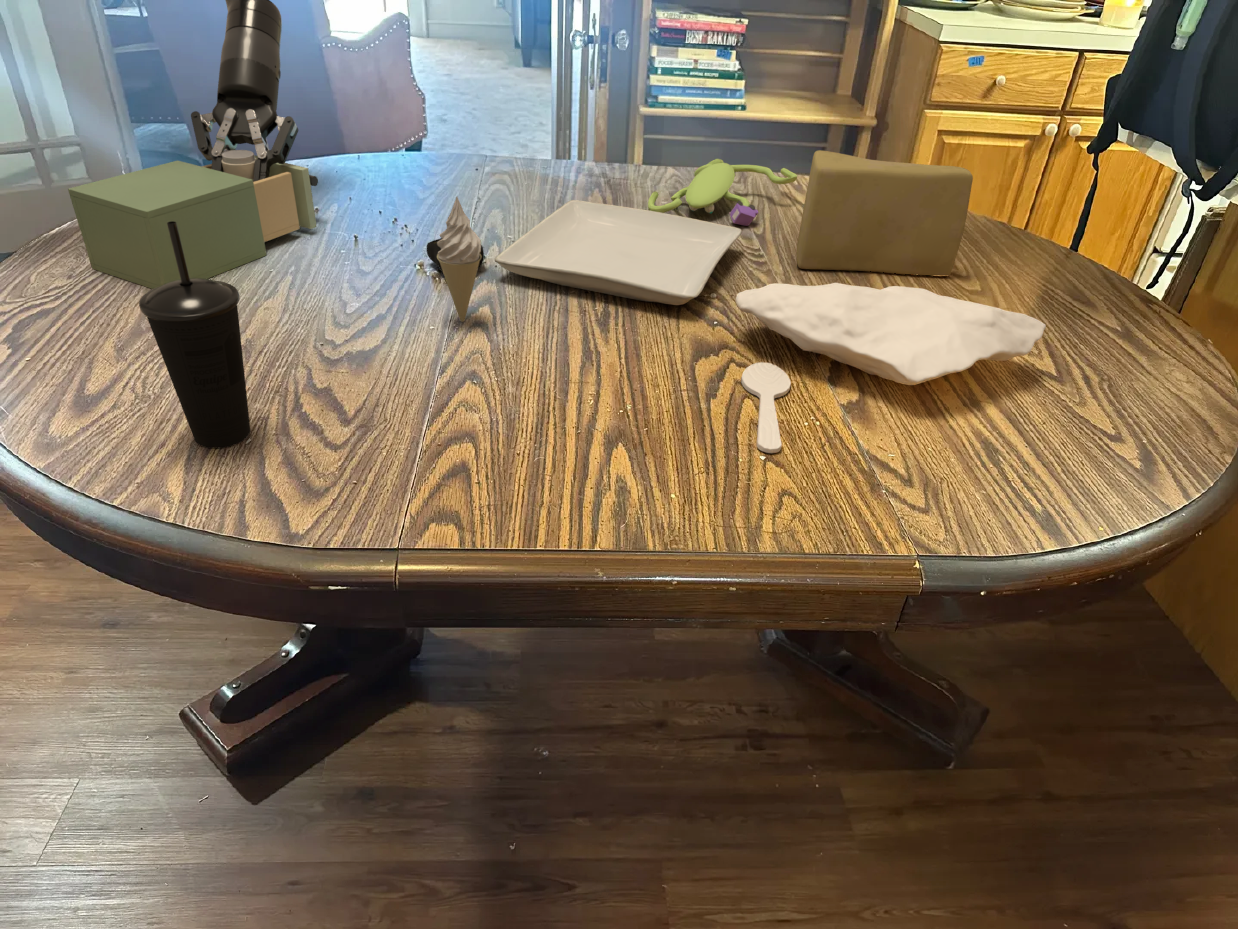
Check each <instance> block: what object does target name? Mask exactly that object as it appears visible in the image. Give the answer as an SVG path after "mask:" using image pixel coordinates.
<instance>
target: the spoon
mask: <svg viewBox="0 0 1238 929" xmlns="http://www.w3.org/2000/svg"><path fill="white" fill-rule="evenodd" d="M740 383H741V385H742V387H743V388H744V390H746V391H747V392H748V393H750V394H752V395H754V396H756V397H757V398H759V405H758V419H757V433H756V447H757V449H758V450H760V451H761V452H763V453H766V454H776V453H779V452H780V451H781V450H782V447H783V446H782V439H781V434H780V425H779V421H778V415H777V410H776V404H775V399H776V398H781V397H784V396H785V395H786V394H788V393H789V391H790V390H791V384H792V383H791V379H790V376H789V375H788V373H786V372H785V370H783V369H782V368H781V367H779V366H778V365H776V364H773V363H771V362H764V361H760V362H759V361H758V362H754V363H752V364H750V365H748V366H747V367H745V369H744V370H743V372H742V374H741V376H740Z"/></svg>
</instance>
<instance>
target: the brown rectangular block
mask: <svg viewBox="0 0 1238 929" xmlns="http://www.w3.org/2000/svg"><path fill="white" fill-rule="evenodd" d="M973 179H974V177H973V174H972V172H971V171H970V170H969V169H967V168H964V167H961V166H956V165H955V166H954V165H936V164H921V163H910V162H899V161H896V162H895V161H885V160H877V159H869V158H863V157H859V156H854V155H850V154H845V153H839V152H834V151H827V150H820V149H819V150H816V151H815V152H814V153H813V156H812V161H811V166H810V171H809V176H808V181H807V182H808V183H807V187H806V192H805V199H804V204H803V208H802V209H803V210H802V214H801V220H800V224H799V225H800V226H799V231H798V237H797V241H796V249H795V250H796V254H795V255H796V265H797V267H798V268H799V269H801V270H823V271H827V270H828V271H850V272H851V271H852V272H853V271H855V272H870V271H871V272H872V273H883V272H884V273H885V274H894V273H896V275H905V274H918V275H949V276H951V274H952V271H953V268H954V265H955V262H956V258H957V255H958V252H959V248H960V246H961V241H962V238H963V235H964V231H965V227H966V222H967V217H968V211H969V205H970V198H971V192H972V187H973V181H974V180H973Z"/></svg>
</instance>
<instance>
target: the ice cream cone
mask: <svg viewBox="0 0 1238 929" xmlns="http://www.w3.org/2000/svg"><path fill="white" fill-rule="evenodd" d="M458 197H459V196H458V195H456V196H455V200H454V203H453V205H452V207H451V211H450V213H449V215H448V217H447V219H446V221H445V224H446V229H445V230H444V231H442V232H440V233H439V237H440V238H442V240H440V241H438V242H437V245H438V246H439V247H440V248H441V250H440V251H439V252H438V255H437V259H438V260H439V262H440V265H441V267H442V270H443V272H442V273H443V276H444V279H445V282H446V286H447V288H448V290H449V294H450V296H451V299H452V302H453V304H454V308H455V310H456V314H457V316H458V319H459V322H461V323H464V322H465V321H466V317H467V313H468V309H469V305H470V301H471V297H472V294H473V289H474V284H475V280H476V277H477V273H478V270H479V268H478V265H479V261H480V260H481V258H482V256H481V254H480V252H481V245H482V240H481V239H480V237H479V236H478V235H477V233H476V232H475V231H474V230H473V229H472V227H471V219H469V217H468V216H467V215H466V213H465V211H464V209H463V207H462V205H461V201H460V200H459V198H458Z"/></svg>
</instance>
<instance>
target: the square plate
mask: <svg viewBox="0 0 1238 929" xmlns="http://www.w3.org/2000/svg"><path fill="white" fill-rule="evenodd" d="M741 234H742V228H740V227H735V226H730V225H725V224H720V223H716V222H711V221H706V220H701V219H696V218H691V217H687V216H683V215H677V214H670V213H667V212H665V213H660V212H654V211H650V210H649V209H642V208H635V207H630V206H629V207H628V206H621V205H614V204H606V203H599V202H594V201H593V202H592V201H585V200H577V199H571V200H568V201H567V202H565V203H564V204H563V205H562V206H560V207H558V208H557V209H556V210H554V211H553V212H552V213H550V214H549V215H548V216H546V217H545V218H544V219H542V220H541V221H540V222H538V223H537V224H536V225H534V226H533V227H532V228H530V230H529V229H528V231H527V232H526V233H524V234H523V235H522V236H520V237H519V238H518V239H516V240H515V241H514V242H513V243H511V244H510V245H509V246H507V247H506V248H505V249H504V250H503V251H501V252H500V253H499V254H498V255H497V256H496V257H495V258H494V262H495V263H496V264H498V265H500V267H502V268H503V269H505V270H507V271H508V272H510V273H513V274H516V275H519V276H523V277H528V278H532V279H536V280H541V281H544V282H547V283H550V284H555V285H559V286H565V287H569V288H574V289H575V288H576V289H580V290H585V291H590V292H595V293H601V294H604V295H605V294H606V295H610V296H614V297H621V298H625V299H630V300H635V301H640V302H648V303H660V304H665V305H672V306H682V305H685V304H687V303H689V301H691V300H693V299H694V298H697V297H698V296H700V294H701V292H703V290H704V287H705V286H706V284H707V282H708V280H709V278H710V276H711V275H712V273H713V272H714V270H715V268H716V266H717V264H718V263H719V261H720V260H721V259H722V258H723V256H724V255H725V254H726V253H727V251H728V250H729V249H730V248H731V247H732V246H733V244H734V243H735V242H736V241H737V240H738V238H739V237H740V235H741Z"/></svg>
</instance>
